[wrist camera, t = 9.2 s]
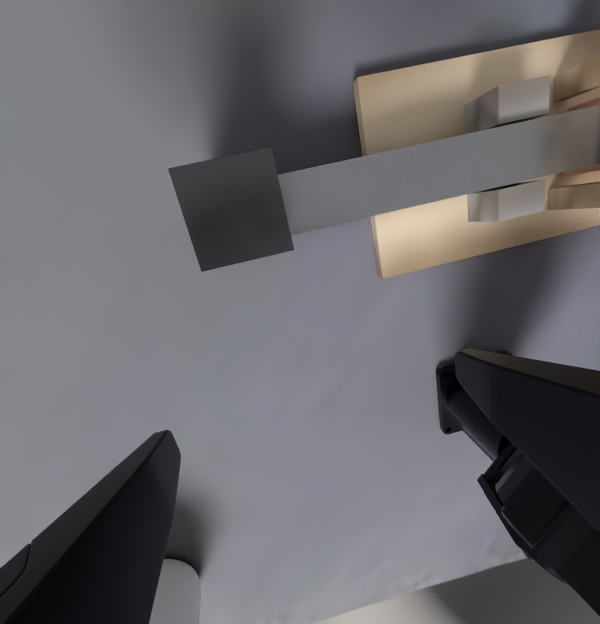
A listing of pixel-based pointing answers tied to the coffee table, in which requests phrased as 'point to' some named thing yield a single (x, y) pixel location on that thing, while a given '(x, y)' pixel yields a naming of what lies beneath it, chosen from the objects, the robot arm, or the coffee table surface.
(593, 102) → the block
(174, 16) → the coffee table surface
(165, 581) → the cup
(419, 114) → the rail
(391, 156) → the grey metal bar
